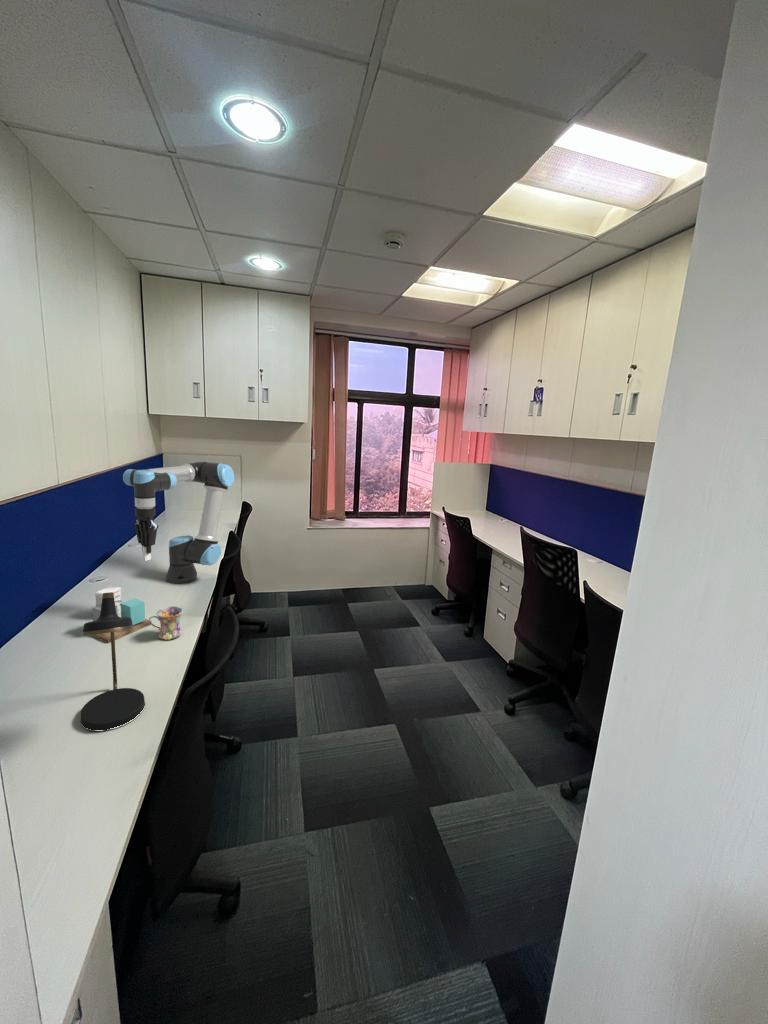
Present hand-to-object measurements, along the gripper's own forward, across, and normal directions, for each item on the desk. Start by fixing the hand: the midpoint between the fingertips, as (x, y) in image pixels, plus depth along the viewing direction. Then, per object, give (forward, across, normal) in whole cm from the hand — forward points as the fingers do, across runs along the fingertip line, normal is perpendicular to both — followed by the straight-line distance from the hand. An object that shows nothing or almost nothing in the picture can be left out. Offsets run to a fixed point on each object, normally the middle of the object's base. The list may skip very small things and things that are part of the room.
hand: (147, 559), depth 178 cm
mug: (+25, +24, -10) cm, 36 cm away
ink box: (+25, -10, -11) cm, 29 cm away
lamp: (+25, +47, -46) cm, 70 cm away
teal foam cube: (+22, +7, -12) cm, 26 cm away
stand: (+24, +5, -16) cm, 30 cm away
